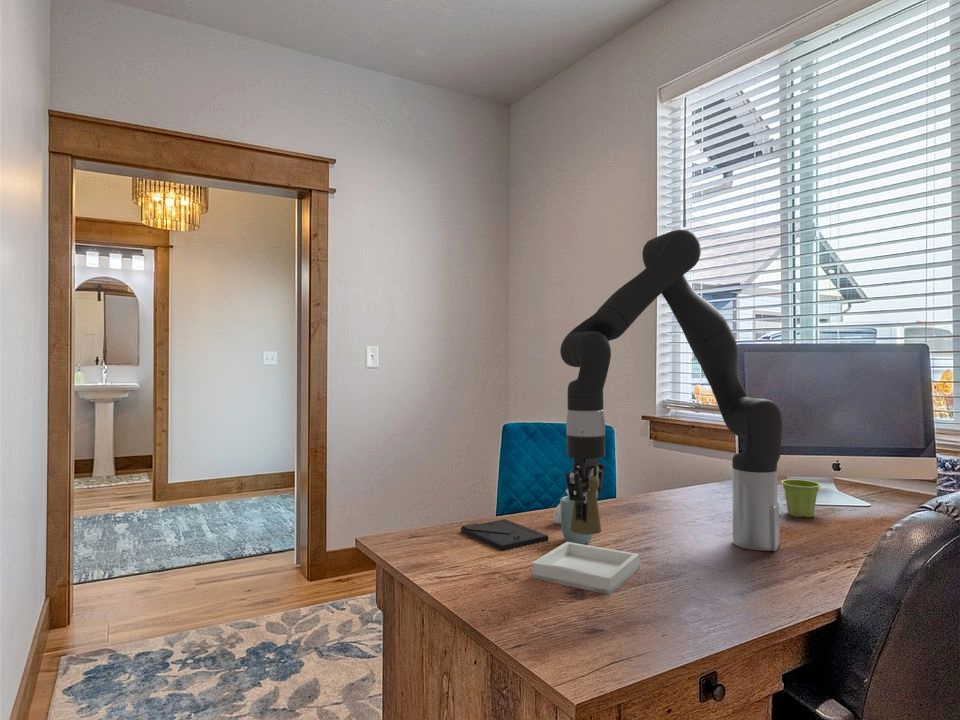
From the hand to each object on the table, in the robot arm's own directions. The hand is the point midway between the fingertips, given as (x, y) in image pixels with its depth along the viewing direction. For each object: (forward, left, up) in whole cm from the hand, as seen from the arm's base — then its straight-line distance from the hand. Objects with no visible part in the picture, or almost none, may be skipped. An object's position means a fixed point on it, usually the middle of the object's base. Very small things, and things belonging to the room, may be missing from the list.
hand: (586, 518), depth 119 cm
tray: (0, 0, -11) cm, 11 cm away
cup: (+10, -18, -11) cm, 23 cm away
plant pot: (-31, -72, -11) cm, 79 cm away
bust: (+18, -33, -11) cm, 39 cm away
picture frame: (+27, -13, -12) cm, 32 cm away
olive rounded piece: (0, 0, -2) cm, 2 cm away
